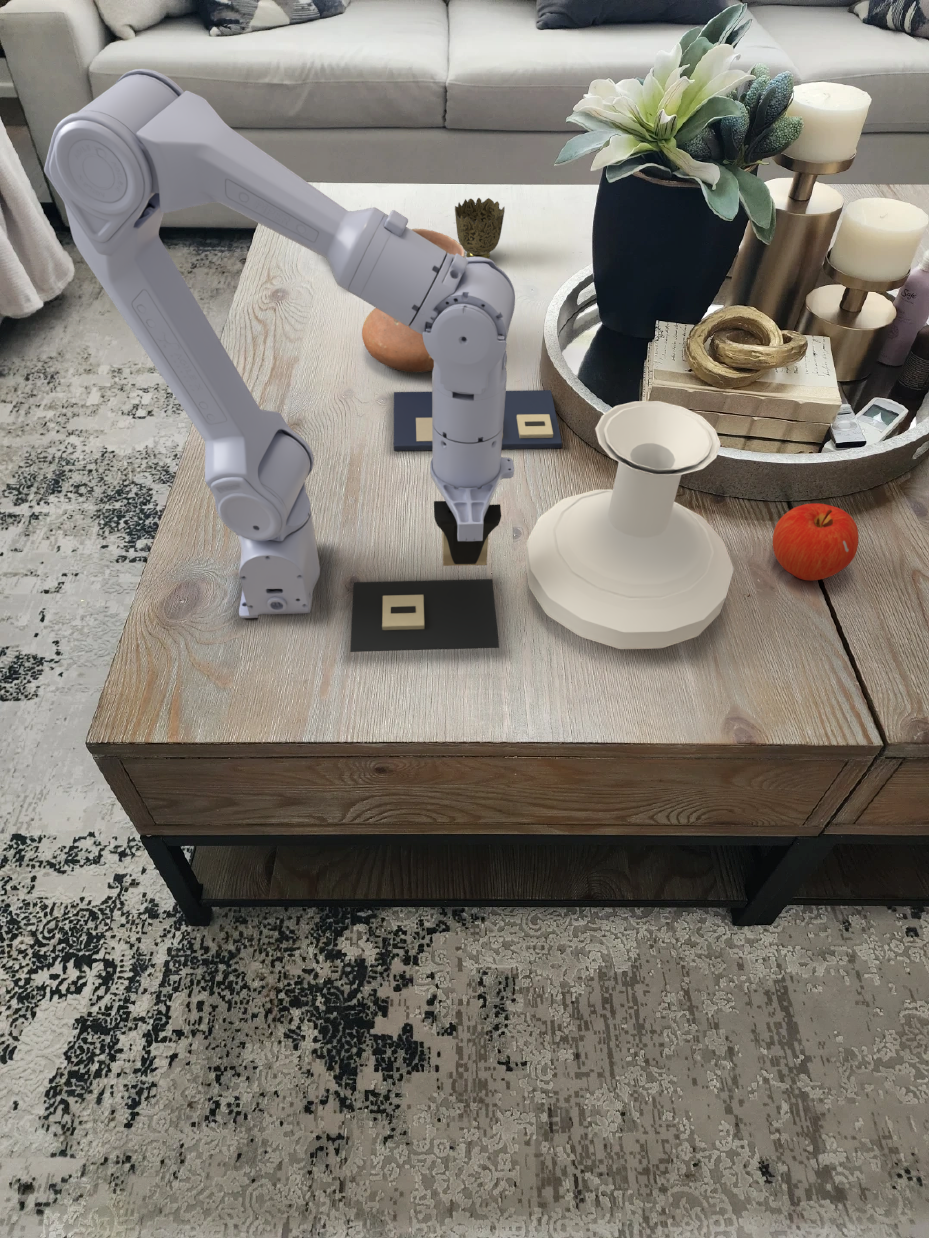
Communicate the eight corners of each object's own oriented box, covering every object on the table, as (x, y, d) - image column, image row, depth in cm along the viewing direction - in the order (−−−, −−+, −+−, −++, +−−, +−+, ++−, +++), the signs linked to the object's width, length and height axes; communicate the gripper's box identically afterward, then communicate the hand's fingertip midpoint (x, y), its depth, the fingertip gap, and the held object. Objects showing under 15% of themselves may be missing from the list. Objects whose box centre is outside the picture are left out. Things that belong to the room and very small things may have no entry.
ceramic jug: (489, 378, 111) (495, 273, 100) (383, 398, 107) (376, 291, 96) (445, 310, 122) (446, 210, 111) (347, 326, 118) (338, 224, 108)
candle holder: (534, 513, 93) (551, 358, 79) (717, 538, 92) (770, 383, 77) (509, 652, 80) (524, 497, 66) (723, 684, 78) (787, 531, 64)
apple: (859, 581, 88) (890, 523, 82) (796, 603, 85) (823, 545, 79) (809, 532, 92) (835, 474, 86) (749, 551, 90) (771, 494, 84)
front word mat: (498, 652, 80) (499, 642, 79) (350, 656, 80) (349, 646, 79) (491, 584, 86) (492, 573, 85) (353, 587, 86) (352, 577, 84)
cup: (446, 254, 133) (446, 201, 127) (488, 245, 135) (490, 193, 129) (466, 275, 129) (467, 222, 123) (509, 266, 131) (513, 213, 125)
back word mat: (561, 448, 101) (562, 438, 100) (393, 451, 100) (393, 440, 99) (550, 395, 108) (551, 385, 107) (394, 397, 107) (393, 387, 106)
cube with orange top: (486, 565, 78) (488, 532, 74) (443, 566, 77) (443, 533, 74) (484, 535, 80) (485, 502, 77) (441, 536, 80) (441, 503, 77)
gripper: (526, 479, 63) (513, 601, 74) (510, 370, 73) (501, 492, 83) (431, 480, 63) (432, 603, 73) (428, 371, 73) (429, 493, 83)
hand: (463, 544), depth 78 cm, fingers closed on cube with orange top, 4 cm apart
